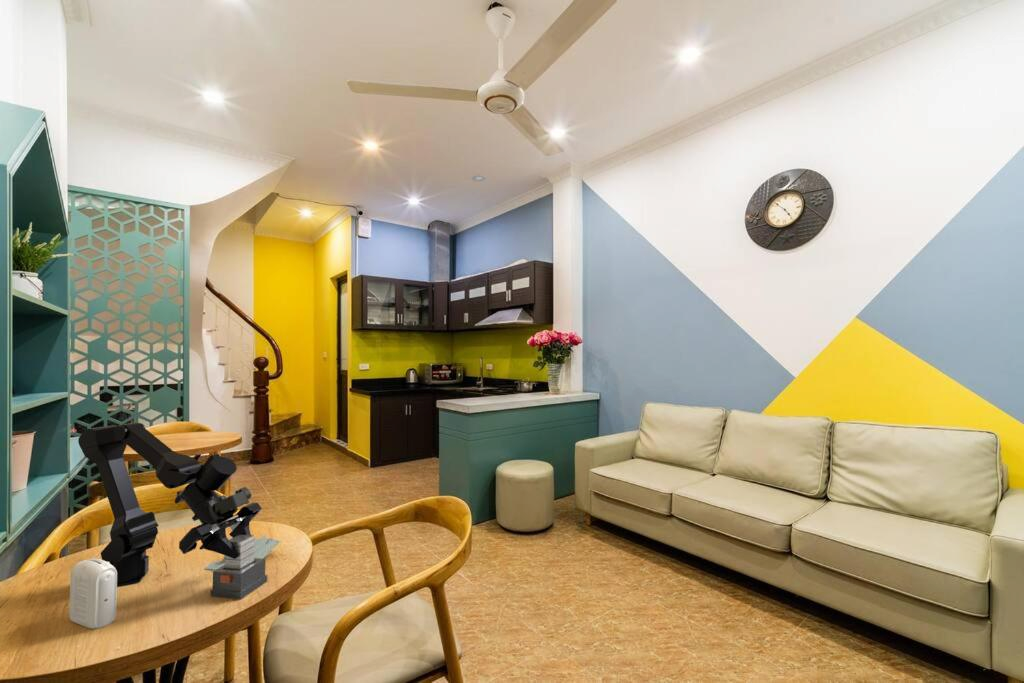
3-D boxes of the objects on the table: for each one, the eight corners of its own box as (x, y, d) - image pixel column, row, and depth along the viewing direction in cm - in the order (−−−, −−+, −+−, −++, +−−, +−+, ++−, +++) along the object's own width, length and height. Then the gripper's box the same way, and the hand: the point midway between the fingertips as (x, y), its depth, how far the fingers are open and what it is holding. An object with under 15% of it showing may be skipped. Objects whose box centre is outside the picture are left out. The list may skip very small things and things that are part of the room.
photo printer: (119, 620, 90) (121, 559, 91) (93, 632, 86) (95, 568, 87) (91, 610, 94) (92, 552, 95) (65, 621, 90) (66, 561, 91)
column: (224, 581, 100) (224, 541, 101) (239, 572, 105) (239, 534, 105) (240, 582, 100) (240, 542, 100) (254, 573, 104) (254, 535, 104)
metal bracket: (242, 530, 124) (288, 533, 121) (247, 547, 126) (292, 551, 122) (198, 566, 111) (248, 571, 107) (204, 586, 112) (253, 591, 109)
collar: (209, 597, 99) (209, 572, 99) (238, 579, 107) (238, 556, 107) (240, 599, 97) (240, 574, 97) (267, 581, 105) (267, 558, 105)
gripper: (191, 491, 95) (234, 546, 92) (256, 470, 113) (293, 515, 111) (159, 526, 96) (201, 581, 93) (229, 499, 114) (265, 545, 112)
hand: (244, 553), depth 102 cm, fingers closed on column, 4 cm apart
